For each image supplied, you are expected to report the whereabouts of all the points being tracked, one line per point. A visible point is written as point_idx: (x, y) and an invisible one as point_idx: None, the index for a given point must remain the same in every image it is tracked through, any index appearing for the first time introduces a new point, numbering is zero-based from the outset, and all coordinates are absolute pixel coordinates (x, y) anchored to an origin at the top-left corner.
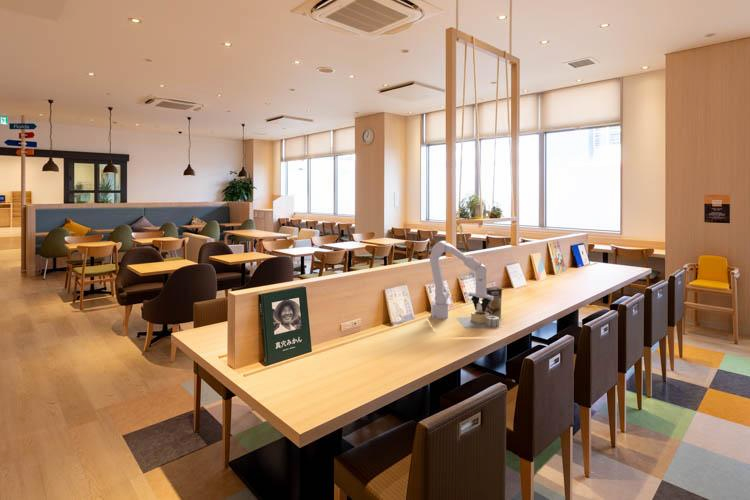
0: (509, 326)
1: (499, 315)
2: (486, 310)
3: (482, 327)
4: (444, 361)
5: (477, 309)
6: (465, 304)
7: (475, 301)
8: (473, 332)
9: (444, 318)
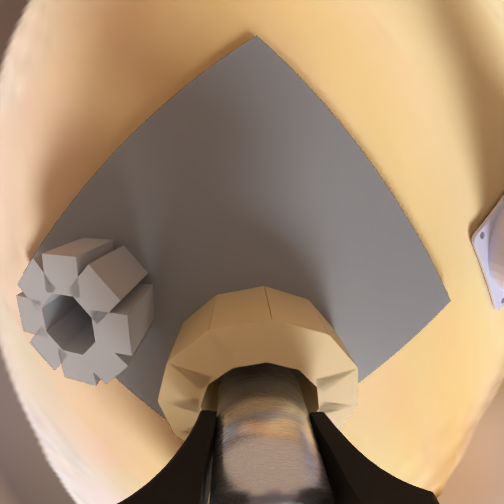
0: None
1: (209, 492)
2: None
3: (124, 156)
4: None
5: (285, 410)
6: None
7: (352, 499)
8: (163, 38)
9: (499, 220)
